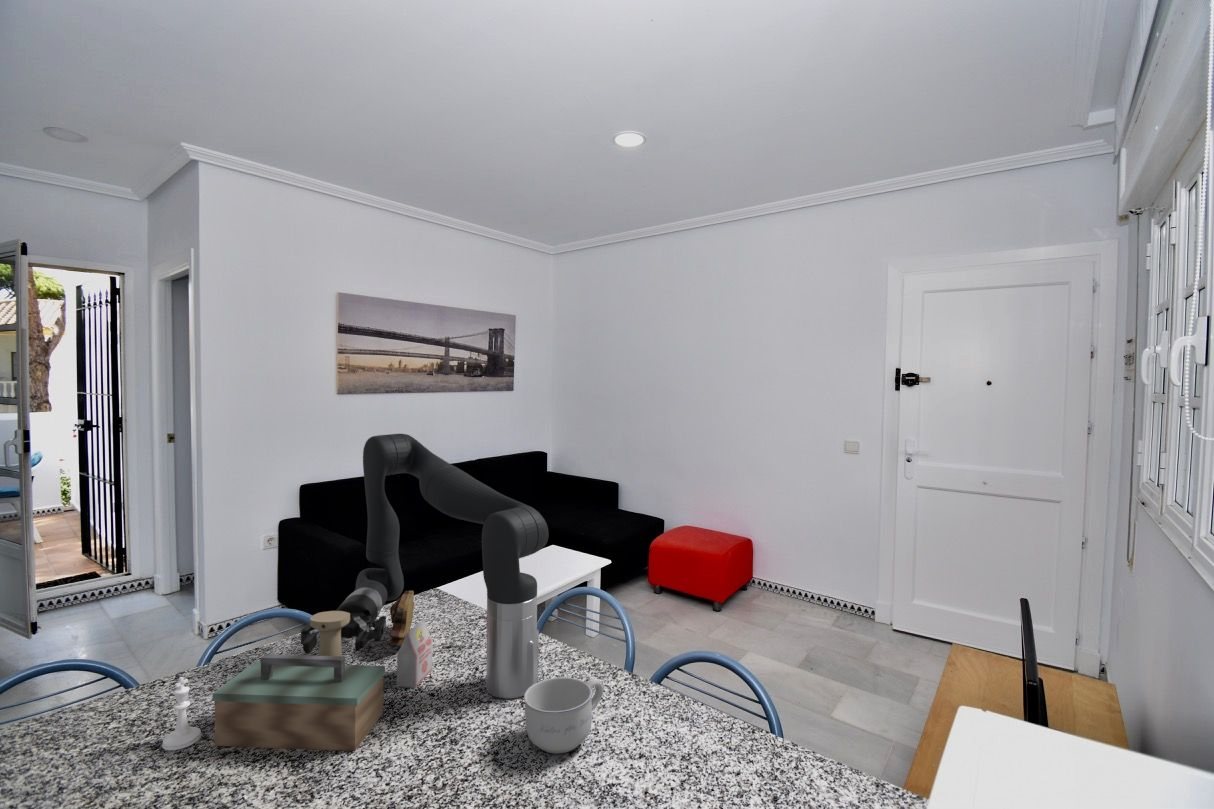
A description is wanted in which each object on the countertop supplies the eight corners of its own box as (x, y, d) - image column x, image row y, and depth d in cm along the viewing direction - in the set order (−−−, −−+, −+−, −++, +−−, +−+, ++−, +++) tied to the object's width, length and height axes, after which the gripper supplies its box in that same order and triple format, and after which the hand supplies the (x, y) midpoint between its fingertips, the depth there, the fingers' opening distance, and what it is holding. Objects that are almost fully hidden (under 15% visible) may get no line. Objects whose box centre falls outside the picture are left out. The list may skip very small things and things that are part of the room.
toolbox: (403, 688, 105) (403, 625, 104) (357, 750, 87) (357, 675, 86) (283, 684, 105) (283, 621, 105) (213, 745, 87) (212, 670, 87)
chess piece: (209, 734, 90) (208, 673, 90) (176, 753, 85) (176, 688, 85) (187, 728, 92) (186, 667, 91) (154, 746, 87) (153, 682, 87)
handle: (341, 707, 98) (341, 622, 98) (305, 707, 98) (304, 621, 98) (354, 692, 103) (354, 611, 102) (319, 691, 103) (319, 610, 102)
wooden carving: (394, 623, 131) (393, 581, 130) (415, 620, 132) (414, 579, 131) (387, 661, 115) (385, 614, 114) (411, 658, 117) (409, 611, 116)
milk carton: (396, 685, 106) (397, 632, 105) (414, 668, 112) (415, 618, 112) (415, 687, 105) (415, 634, 105) (432, 669, 112) (432, 619, 111)
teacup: (537, 772, 83) (538, 718, 82) (514, 731, 92) (514, 683, 92) (621, 745, 89) (622, 695, 89) (591, 709, 99) (591, 664, 98)
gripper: (322, 595, 116) (289, 628, 100) (395, 592, 118) (373, 625, 102) (322, 631, 116) (289, 670, 100) (394, 628, 118) (373, 666, 102)
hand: (332, 647), depth 101 cm, fingers open, 8 cm apart
